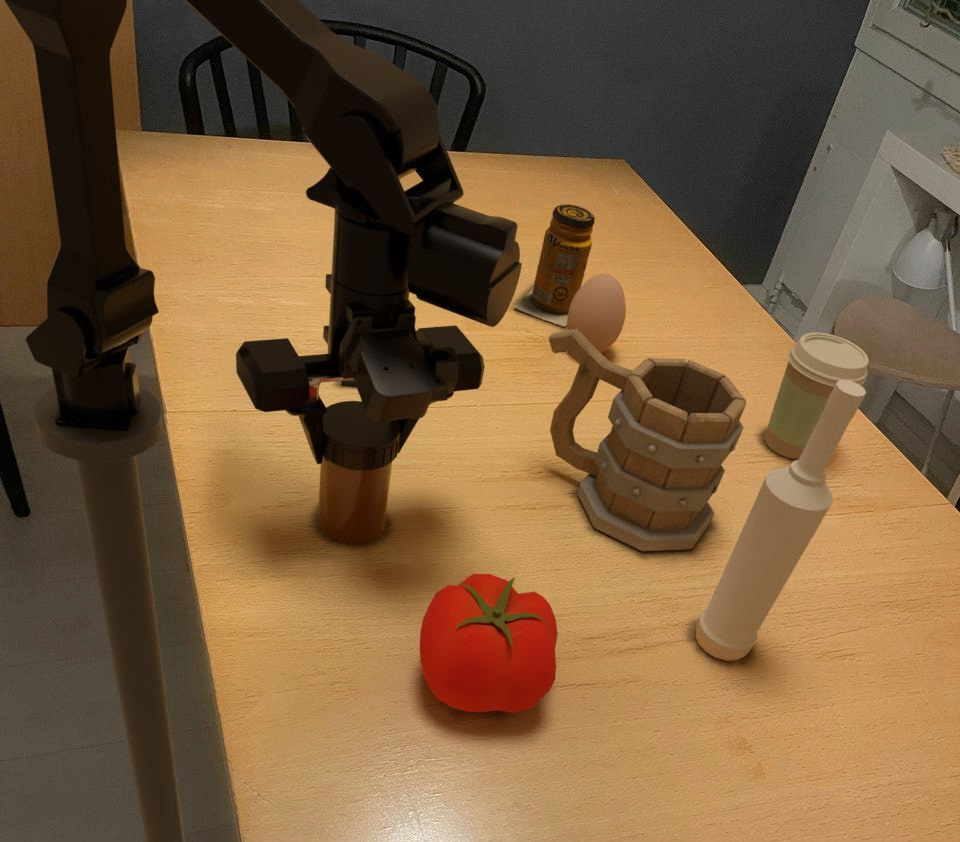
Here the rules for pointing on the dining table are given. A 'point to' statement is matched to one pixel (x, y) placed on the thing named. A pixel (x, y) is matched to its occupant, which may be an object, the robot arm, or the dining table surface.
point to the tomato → (488, 646)
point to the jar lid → (358, 438)
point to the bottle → (775, 535)
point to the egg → (598, 311)
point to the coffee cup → (811, 388)
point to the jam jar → (353, 502)
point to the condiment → (560, 264)
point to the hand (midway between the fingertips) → (356, 456)
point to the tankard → (649, 444)
